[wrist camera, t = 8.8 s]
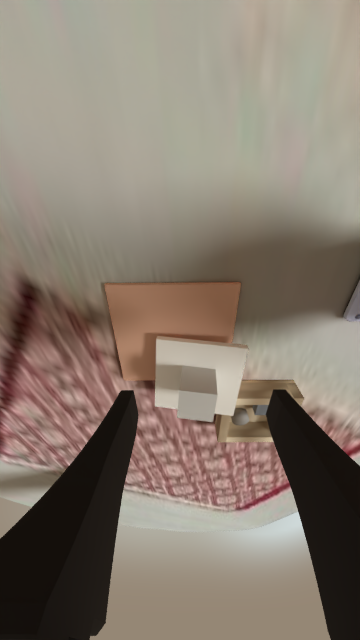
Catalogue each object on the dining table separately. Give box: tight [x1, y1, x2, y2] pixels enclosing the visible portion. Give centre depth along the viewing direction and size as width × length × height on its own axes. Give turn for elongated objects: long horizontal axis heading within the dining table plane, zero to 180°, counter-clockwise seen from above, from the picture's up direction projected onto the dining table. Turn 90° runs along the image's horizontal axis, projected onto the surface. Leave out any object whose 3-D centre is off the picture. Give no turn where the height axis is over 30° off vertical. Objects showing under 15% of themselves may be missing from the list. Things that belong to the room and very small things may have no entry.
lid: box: [155, 336, 249, 422], centre depth 20 cm, size 8×8×5 cm
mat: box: [104, 282, 241, 380], centre depth 20 cm, size 11×11×1 cm
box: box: [215, 380, 304, 442], centre depth 25 cm, size 8×8×2 cm
